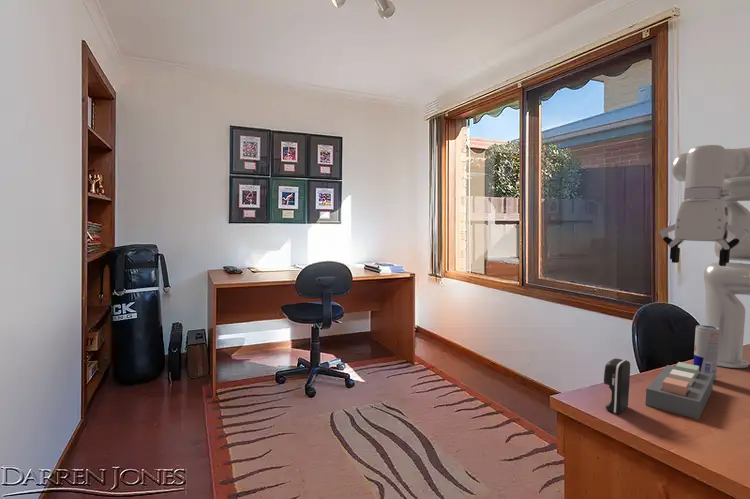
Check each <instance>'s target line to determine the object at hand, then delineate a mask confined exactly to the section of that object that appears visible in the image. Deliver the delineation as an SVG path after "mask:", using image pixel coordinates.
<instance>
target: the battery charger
mask: <svg viewBox="0 0 750 499" xmlns="http://www.w3.org/2000/svg"><path fill="white" fill-rule="evenodd" d="M603 374H604V375H603V383H604V384H605V385H608V388H609V390H610V391H611V398H610V399H611V401H610V402H609V403H608V404H606V406H605V409H606V410H607V411H609V412H611V413H613V414H618V415H619V414H620V413H622V412H623V411H624V410H625V409H627V407H628V406H629V398H630V397H629V394H630V378H631V362H630V361H629V360H626V359H621V358H613V359H611V360H609V361H608V362H607V363H606V364H605V366H604V373H603Z"/></svg>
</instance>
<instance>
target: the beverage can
mask: <svg viewBox="0 0 750 499" xmlns="http://www.w3.org/2000/svg"><path fill="white" fill-rule="evenodd" d="M718 342H719V328H717V327H712V326H706V325H705V324H702V325H701V324H697V325H696V326H695V334H694V346H693V348H694V351H693V364H692V365H696V366H699V372H703V373H708V374H713V381H715V380H716V379H717V369H718V366H717V357H718Z"/></svg>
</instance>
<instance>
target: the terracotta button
mask: <svg viewBox="0 0 750 499" xmlns="http://www.w3.org/2000/svg"><path fill="white" fill-rule="evenodd" d="M662 391H667V392H671V393H675V394H679V395H683V396H687V395H688V392H689V382H686V381H682V380H678V379H673V378H669V377H666V378H665V380H664V381H663V385H662Z"/></svg>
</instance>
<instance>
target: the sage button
mask: <svg viewBox="0 0 750 499" xmlns="http://www.w3.org/2000/svg"><path fill="white" fill-rule="evenodd" d="M675 367H676V369H675V370H680V371H684V372H689V373H694V378H698V377H699V366H696V365H693V364H691V363H686V362H681V361H678V362H677V364H676V365H675Z"/></svg>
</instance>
